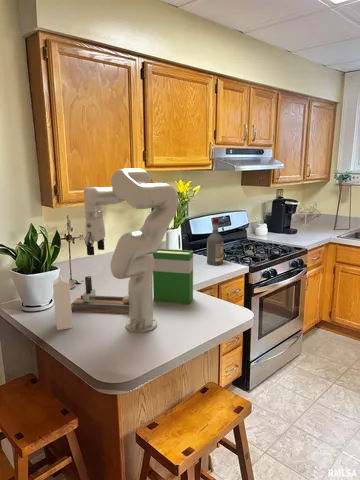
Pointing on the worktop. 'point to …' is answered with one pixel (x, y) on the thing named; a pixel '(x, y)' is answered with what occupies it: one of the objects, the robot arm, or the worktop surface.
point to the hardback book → (173, 276)
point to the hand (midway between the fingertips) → (96, 252)
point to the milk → (62, 303)
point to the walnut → (126, 300)
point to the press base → (101, 305)
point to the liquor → (215, 246)
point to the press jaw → (89, 291)
